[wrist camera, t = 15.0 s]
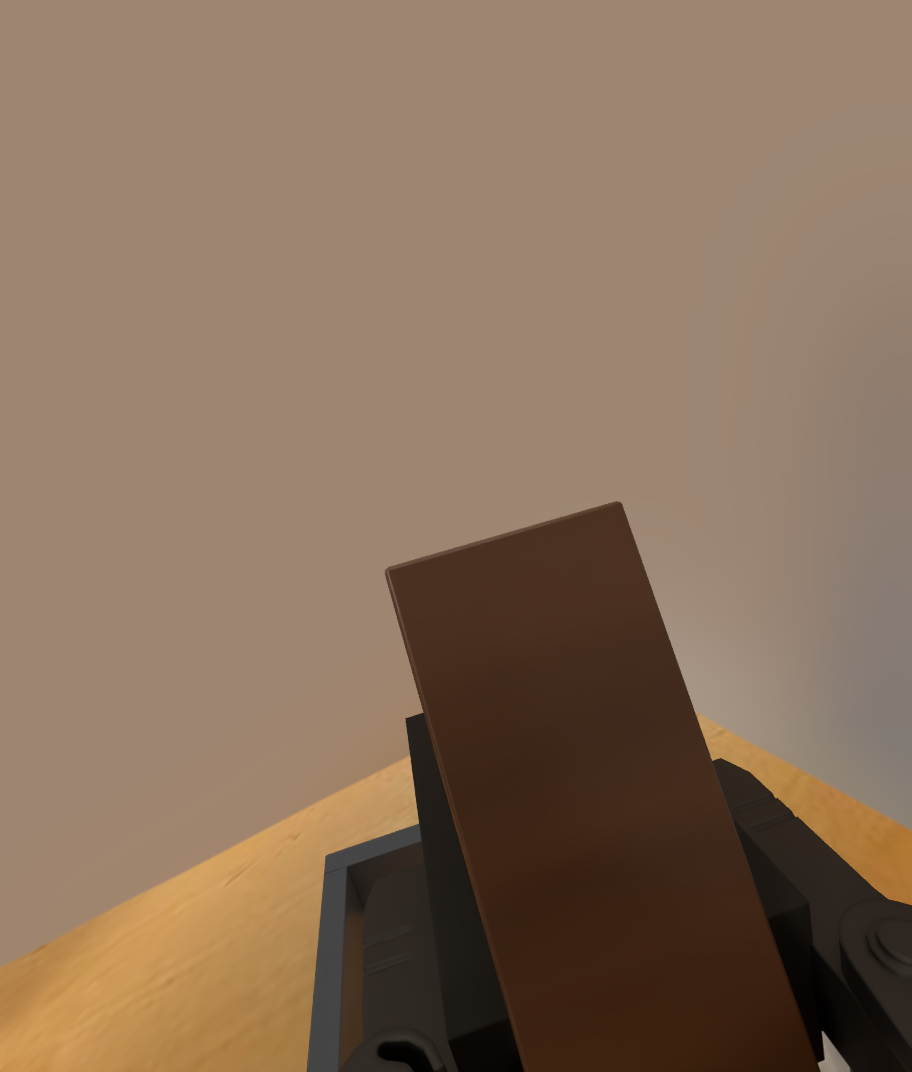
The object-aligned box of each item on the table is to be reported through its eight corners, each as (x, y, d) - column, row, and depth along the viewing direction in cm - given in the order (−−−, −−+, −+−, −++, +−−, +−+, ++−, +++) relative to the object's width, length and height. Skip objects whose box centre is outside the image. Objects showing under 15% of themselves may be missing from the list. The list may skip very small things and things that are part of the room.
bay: (914, 1078, 14) (912, 1011, 14) (321, 1333, 13) (288, 1271, 12) (671, 784, 26) (663, 740, 25) (342, 899, 24) (325, 854, 23)
